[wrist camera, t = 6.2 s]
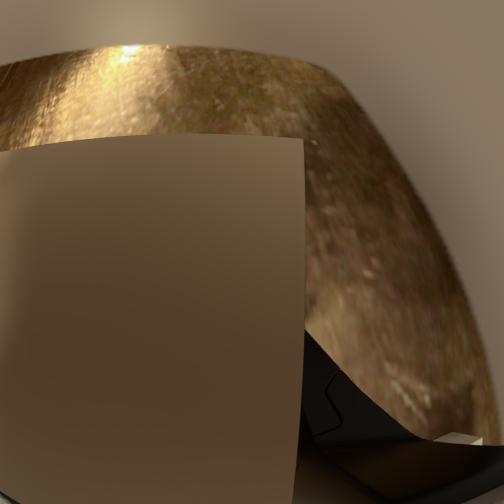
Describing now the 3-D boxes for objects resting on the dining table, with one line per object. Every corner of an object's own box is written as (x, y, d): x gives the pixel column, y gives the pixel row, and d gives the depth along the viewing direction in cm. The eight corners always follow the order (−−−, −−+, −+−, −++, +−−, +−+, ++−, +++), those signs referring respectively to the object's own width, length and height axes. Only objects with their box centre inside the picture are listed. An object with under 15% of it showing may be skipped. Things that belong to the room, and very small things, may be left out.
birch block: (255, 409, 14) (282, 570, 2) (165, 399, 14) (-57, 447, 2) (261, 320, 15) (303, 138, 3) (173, 313, 15) (-4, 153, 3)
